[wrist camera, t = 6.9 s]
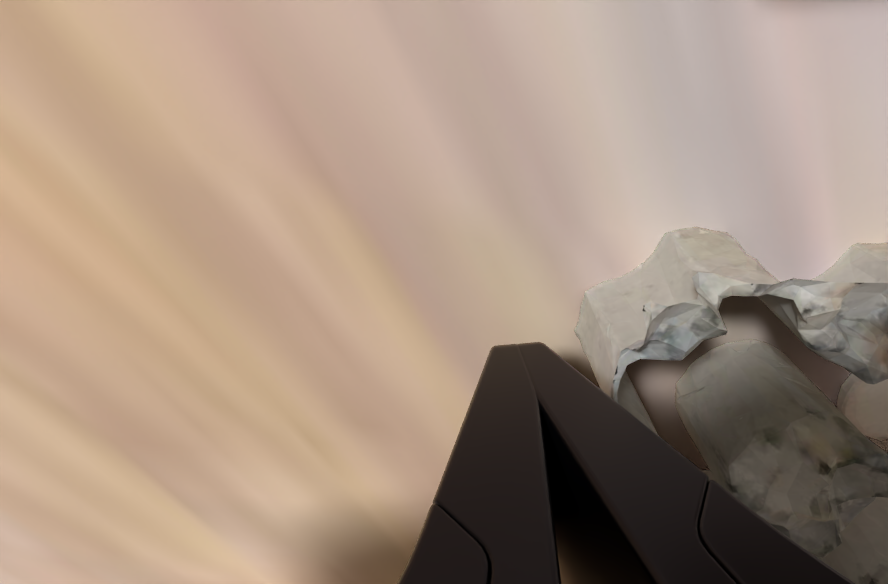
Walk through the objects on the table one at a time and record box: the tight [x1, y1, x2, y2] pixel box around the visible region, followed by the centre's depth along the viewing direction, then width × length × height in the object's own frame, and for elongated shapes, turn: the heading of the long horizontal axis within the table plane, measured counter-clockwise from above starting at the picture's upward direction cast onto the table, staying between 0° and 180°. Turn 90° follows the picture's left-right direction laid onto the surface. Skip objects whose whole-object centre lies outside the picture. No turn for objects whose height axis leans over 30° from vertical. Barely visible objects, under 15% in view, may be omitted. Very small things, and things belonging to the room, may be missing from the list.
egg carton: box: [574, 227, 888, 584], centre depth 10 cm, size 11×8×4 cm
